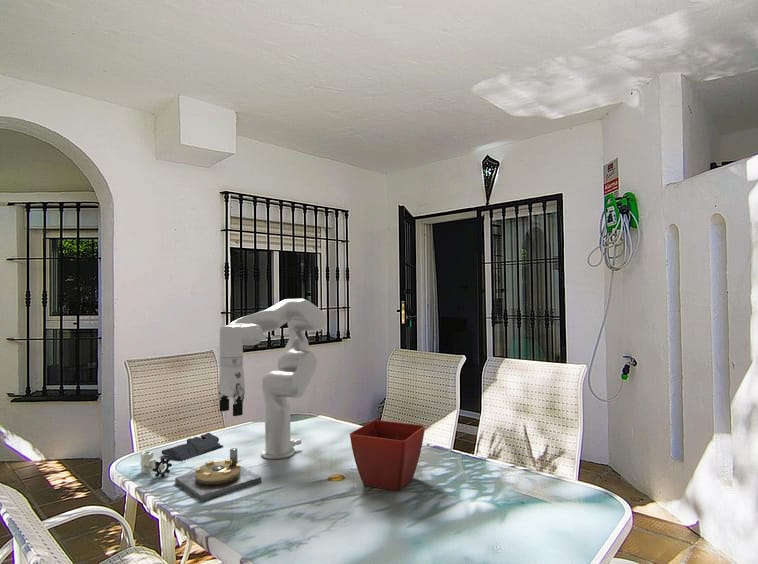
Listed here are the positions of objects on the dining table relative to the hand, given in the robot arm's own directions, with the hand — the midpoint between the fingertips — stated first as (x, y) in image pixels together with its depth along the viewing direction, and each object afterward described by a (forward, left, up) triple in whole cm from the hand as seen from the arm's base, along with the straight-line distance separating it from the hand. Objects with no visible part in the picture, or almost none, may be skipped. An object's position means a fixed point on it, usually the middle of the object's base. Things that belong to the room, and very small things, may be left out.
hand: (230, 413), depth 162 cm
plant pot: (-34, +41, -22) cm, 57 cm away
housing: (+5, +1, -22) cm, 22 cm away
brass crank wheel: (+5, +1, -20) cm, 20 cm away
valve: (+17, -24, -22) cm, 36 cm away
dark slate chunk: (-3, -38, -22) cm, 44 cm away
